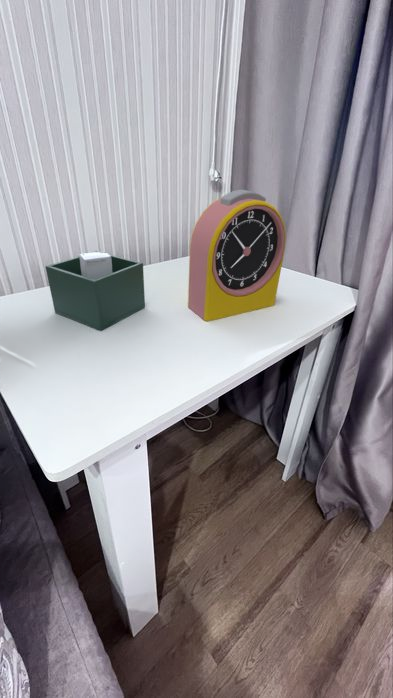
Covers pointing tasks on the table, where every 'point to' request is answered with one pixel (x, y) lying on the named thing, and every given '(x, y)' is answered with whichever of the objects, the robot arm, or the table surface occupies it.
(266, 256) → the alarm clock
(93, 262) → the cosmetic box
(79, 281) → the bin
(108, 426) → the table surface
